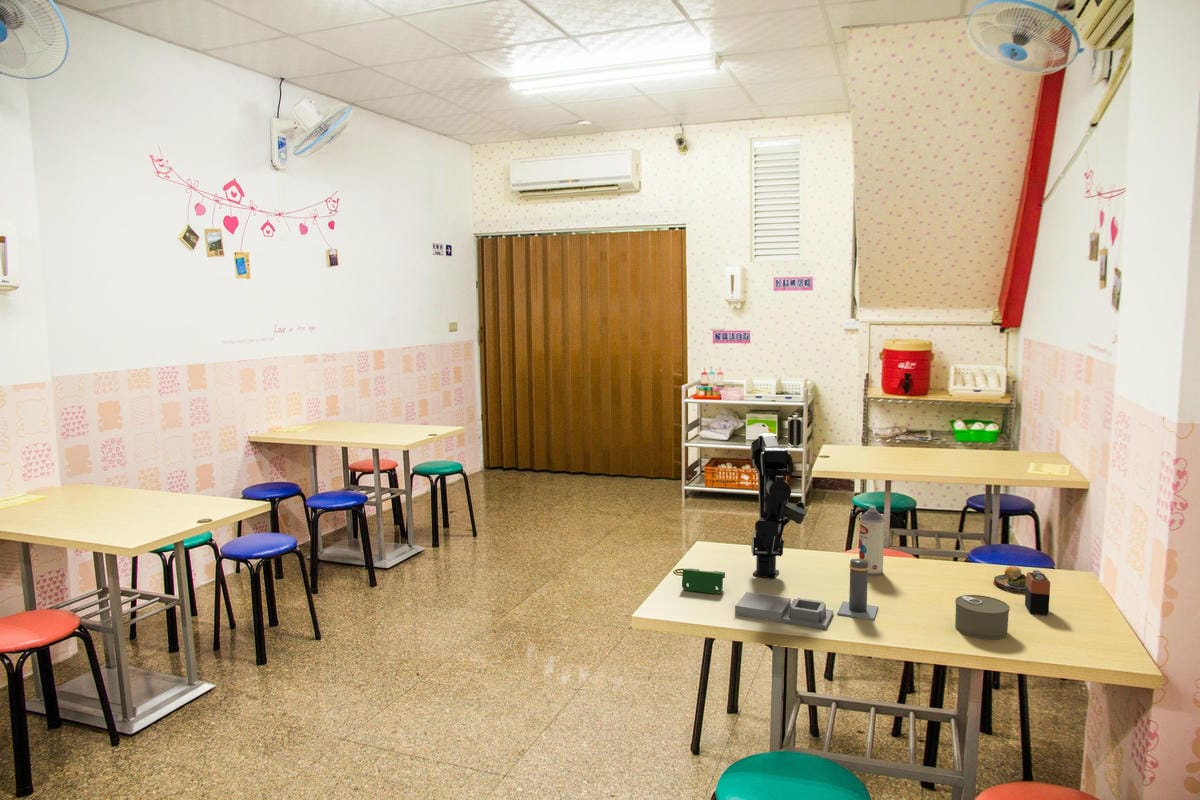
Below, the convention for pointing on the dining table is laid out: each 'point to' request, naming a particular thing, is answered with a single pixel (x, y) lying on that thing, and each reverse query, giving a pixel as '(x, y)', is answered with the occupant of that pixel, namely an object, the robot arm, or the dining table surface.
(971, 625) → the can
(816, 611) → the socket block
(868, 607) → the mat
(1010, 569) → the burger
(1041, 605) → the battery
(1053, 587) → the dining table surface
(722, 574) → the clamp
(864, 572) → the plug
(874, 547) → the aerosol can
